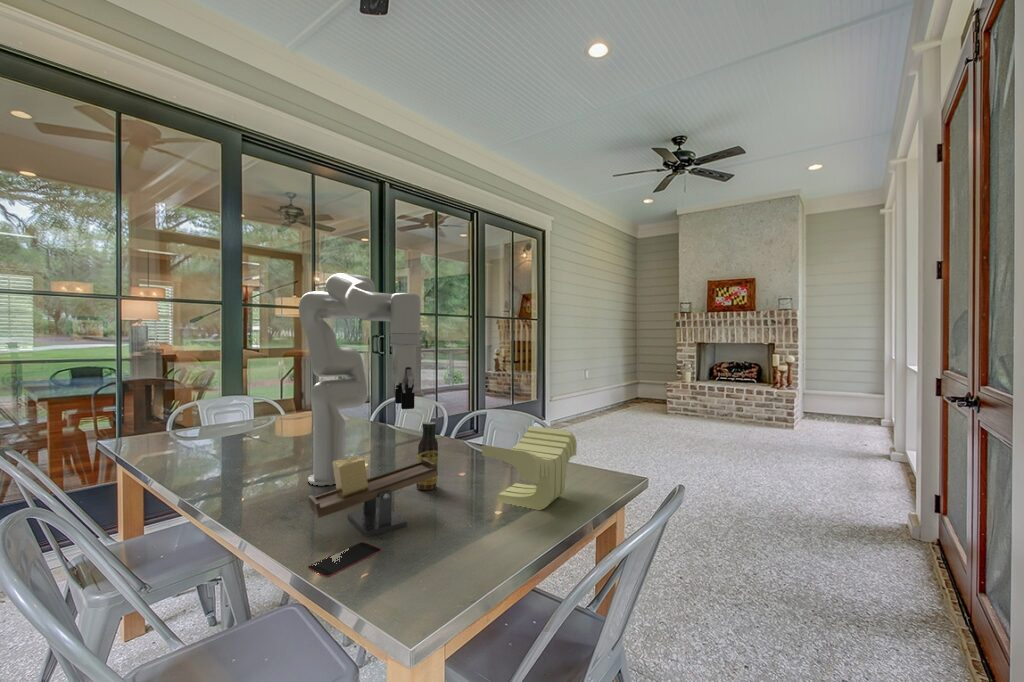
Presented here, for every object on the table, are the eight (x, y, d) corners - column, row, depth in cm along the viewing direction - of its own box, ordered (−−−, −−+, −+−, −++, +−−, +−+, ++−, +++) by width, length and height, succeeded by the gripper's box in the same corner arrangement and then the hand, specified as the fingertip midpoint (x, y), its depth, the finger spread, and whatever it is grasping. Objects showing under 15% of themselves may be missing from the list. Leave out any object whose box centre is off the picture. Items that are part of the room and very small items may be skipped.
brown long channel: (309, 509, 109) (307, 494, 108) (424, 470, 127) (422, 457, 126) (319, 521, 103) (316, 505, 102) (438, 477, 120) (436, 464, 120)
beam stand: (347, 518, 117) (348, 483, 117) (385, 509, 123) (386, 476, 123) (366, 536, 107) (366, 498, 106) (406, 526, 113) (407, 489, 112)
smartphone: (383, 549, 100) (326, 577, 89) (383, 551, 100) (326, 580, 89) (362, 540, 104) (305, 566, 92) (362, 543, 104) (305, 569, 92)
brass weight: (337, 493, 111) (332, 462, 110) (361, 485, 115) (357, 454, 114) (343, 500, 107) (338, 467, 106) (368, 491, 111) (364, 459, 110)
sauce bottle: (419, 492, 137) (420, 425, 136) (413, 486, 142) (414, 421, 142) (440, 489, 140) (441, 423, 139) (434, 483, 145) (434, 420, 145)
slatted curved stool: (535, 524, 115) (537, 453, 115) (481, 511, 123) (482, 445, 122) (575, 488, 142) (576, 431, 142) (528, 480, 149) (529, 425, 149)
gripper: (385, 339, 127) (385, 401, 127) (395, 341, 111) (394, 412, 111) (413, 340, 130) (412, 400, 130) (426, 341, 114) (425, 410, 114)
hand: (404, 405), depth 121 cm, fingers open, 9 cm apart
